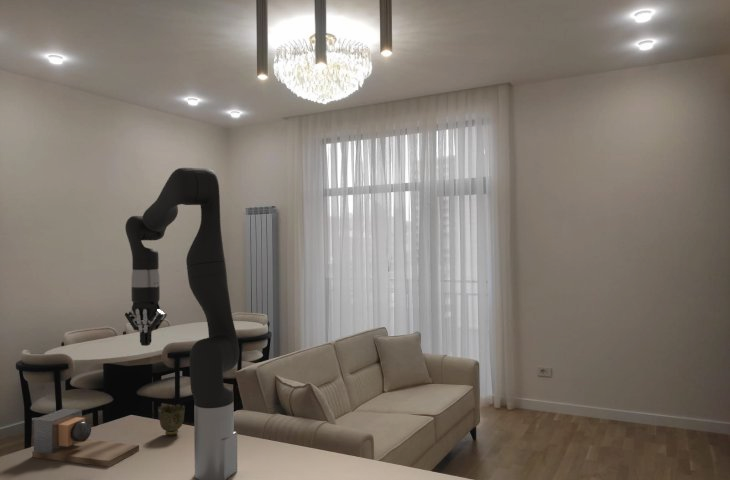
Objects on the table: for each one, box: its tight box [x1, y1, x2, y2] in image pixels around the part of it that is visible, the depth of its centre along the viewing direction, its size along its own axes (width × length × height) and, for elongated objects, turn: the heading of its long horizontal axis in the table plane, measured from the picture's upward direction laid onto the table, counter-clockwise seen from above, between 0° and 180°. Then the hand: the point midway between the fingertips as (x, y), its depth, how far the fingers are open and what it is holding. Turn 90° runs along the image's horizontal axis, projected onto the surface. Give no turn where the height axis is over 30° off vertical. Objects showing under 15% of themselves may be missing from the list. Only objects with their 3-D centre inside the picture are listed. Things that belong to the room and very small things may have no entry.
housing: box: [33, 407, 83, 454], centre depth 146 cm, size 6×10×8 cm, turn 164°
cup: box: [157, 403, 186, 437], centre depth 158 cm, size 8×7×8 cm
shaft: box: [71, 421, 92, 442], centre depth 145 cm, size 12×5×5 cm, turn 74°
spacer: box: [58, 417, 86, 447], centre depth 145 cm, size 3×6×6 cm, turn 164°
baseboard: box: [31, 438, 140, 468], centre depth 144 cm, size 24×11×2 cm, turn 74°
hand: (145, 345), depth 155 cm, fingers closed
